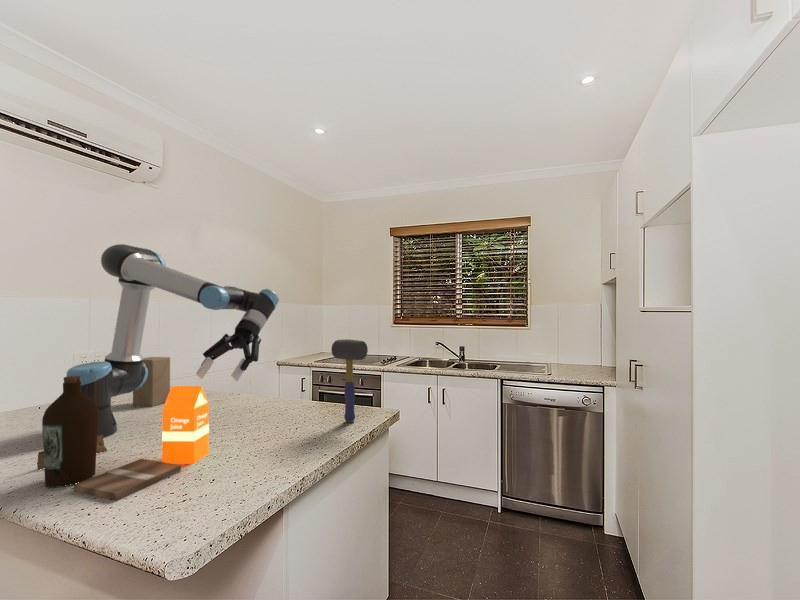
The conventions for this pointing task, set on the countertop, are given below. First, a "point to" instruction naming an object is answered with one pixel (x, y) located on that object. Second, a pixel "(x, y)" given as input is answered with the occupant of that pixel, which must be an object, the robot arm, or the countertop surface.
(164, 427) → the orange juice
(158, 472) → the board
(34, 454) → the countertop surface
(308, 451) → the countertop surface
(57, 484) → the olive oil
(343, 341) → the rubber mallet
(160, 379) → the wooden block
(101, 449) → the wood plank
